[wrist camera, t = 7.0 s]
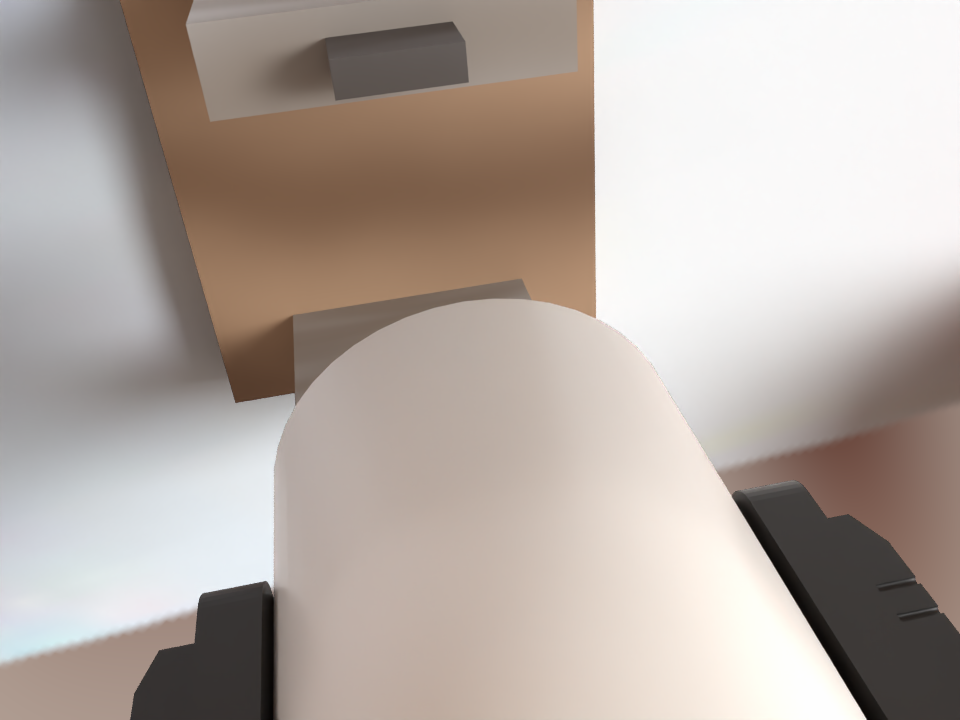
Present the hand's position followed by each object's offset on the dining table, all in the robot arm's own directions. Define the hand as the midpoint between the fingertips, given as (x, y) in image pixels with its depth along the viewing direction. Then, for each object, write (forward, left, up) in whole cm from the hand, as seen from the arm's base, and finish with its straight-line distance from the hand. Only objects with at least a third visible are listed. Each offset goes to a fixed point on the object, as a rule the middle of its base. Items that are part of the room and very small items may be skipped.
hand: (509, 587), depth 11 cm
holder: (0, 0, -15) cm, 15 cm away
